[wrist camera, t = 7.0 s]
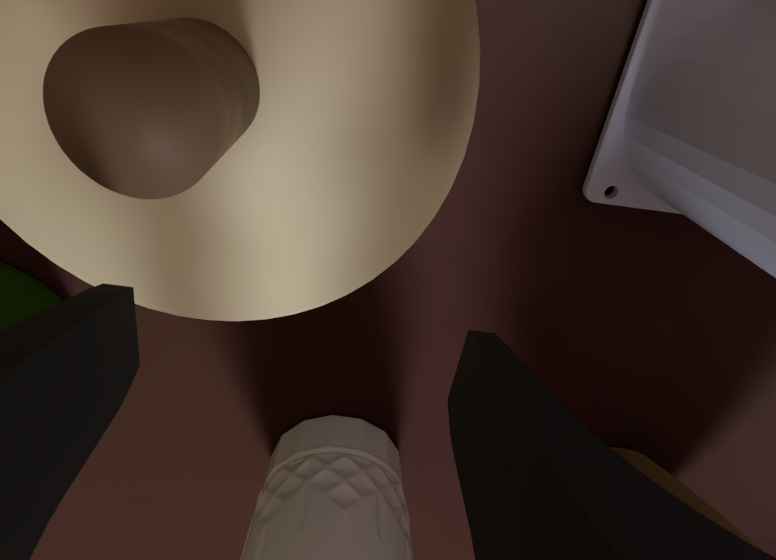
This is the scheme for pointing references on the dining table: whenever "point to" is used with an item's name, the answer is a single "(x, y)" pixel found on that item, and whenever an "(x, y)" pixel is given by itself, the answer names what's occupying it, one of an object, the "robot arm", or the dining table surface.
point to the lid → (232, 142)
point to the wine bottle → (22, 296)
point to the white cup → (331, 496)
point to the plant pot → (678, 490)
